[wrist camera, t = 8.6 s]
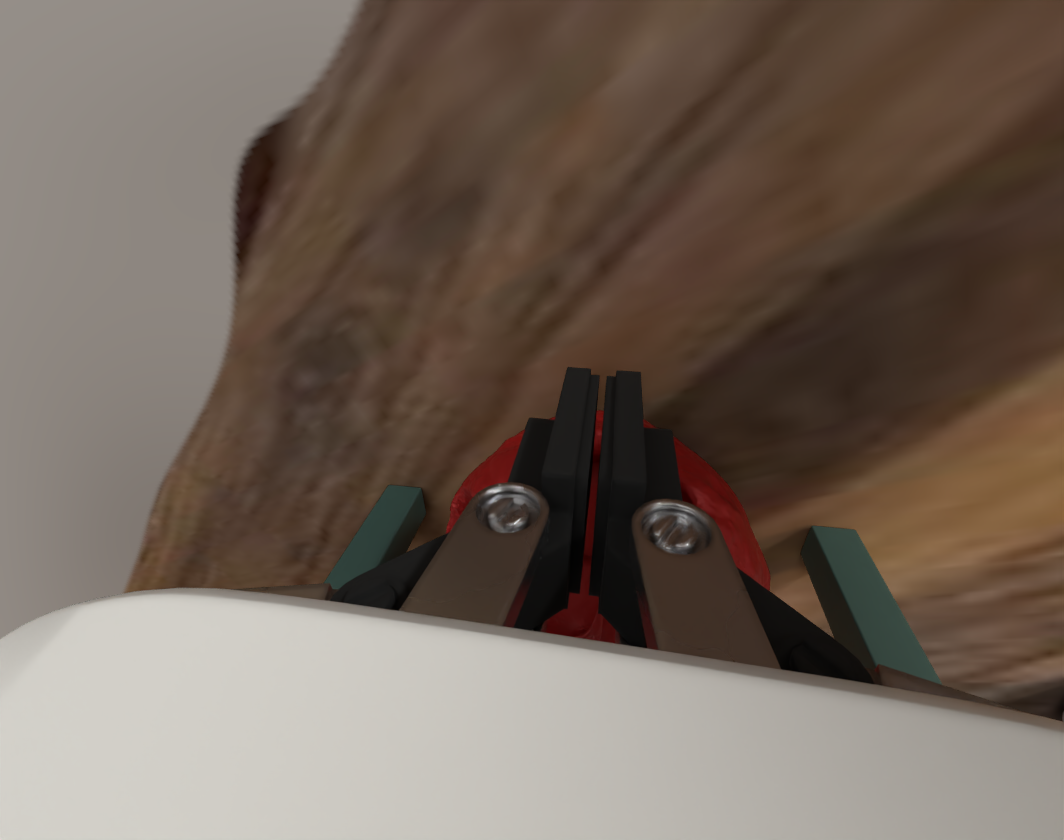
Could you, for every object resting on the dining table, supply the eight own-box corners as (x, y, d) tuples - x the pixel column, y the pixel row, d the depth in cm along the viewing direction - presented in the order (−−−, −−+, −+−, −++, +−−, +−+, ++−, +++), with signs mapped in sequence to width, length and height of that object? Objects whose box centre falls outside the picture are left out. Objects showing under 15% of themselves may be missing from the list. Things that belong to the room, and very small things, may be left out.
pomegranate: (770, 551, 18) (877, 873, 10) (544, 597, 22) (498, 857, 14) (681, 330, 14) (747, 585, 6) (424, 434, 18) (268, 671, 10)
